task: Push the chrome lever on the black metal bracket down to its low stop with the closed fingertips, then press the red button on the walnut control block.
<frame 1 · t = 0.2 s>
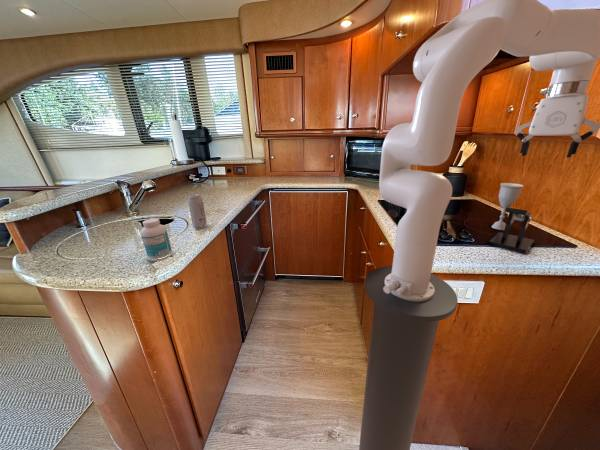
hand: (545, 156, 71), 30 cm above the countertop, tool pointing down, fingers open, 9 cm apart
lever: (517, 214, 77), point 12 cm above the countertop, hinge at 25.0°
bracket: (510, 244, 84), on the countertop
chalice: (499, 228, 98), on the countertop
energy drink can: (200, 227, 109), on the countertop
button: (426, 213, 104), point 4 cm above the countertop, slide at 0.1 cm
control block: (424, 223, 106), on the countertop
pill bottle: (160, 257, 82), on the countertop
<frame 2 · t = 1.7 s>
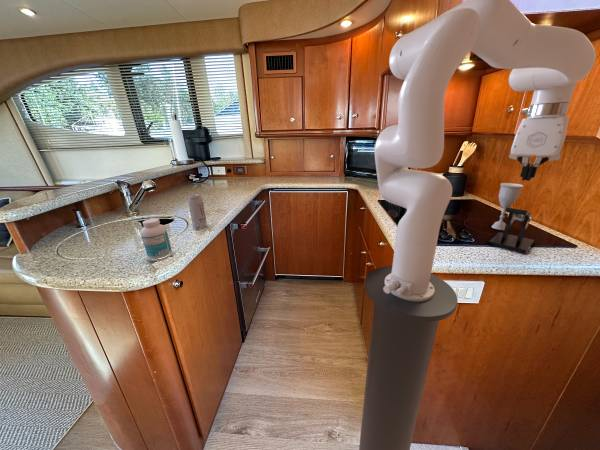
hand: (526, 179, 70), 24 cm above the countertop, tool pointing down, fingers closed
nothing on the countertop moved.
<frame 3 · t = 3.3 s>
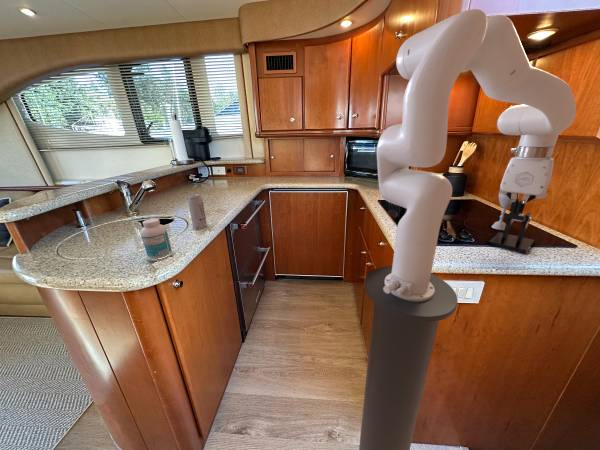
hand: (515, 214, 74), 13 cm above the countertop, tool pointing down, fingers closed
lever: (516, 217, 77), point 11 cm above the countertop, hinge at 14.3°, touching gripper
everything else where it was.
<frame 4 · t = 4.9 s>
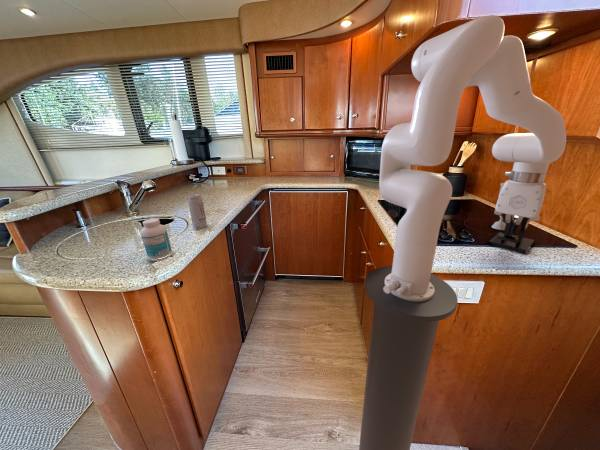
hand: (509, 234, 77), 6 cm above the countertop, tool pointing down, fingers closed
lever: (514, 226, 79), point 8 cm above the countertop, hinge at -30.8°, touching gripper
everything else where it was.
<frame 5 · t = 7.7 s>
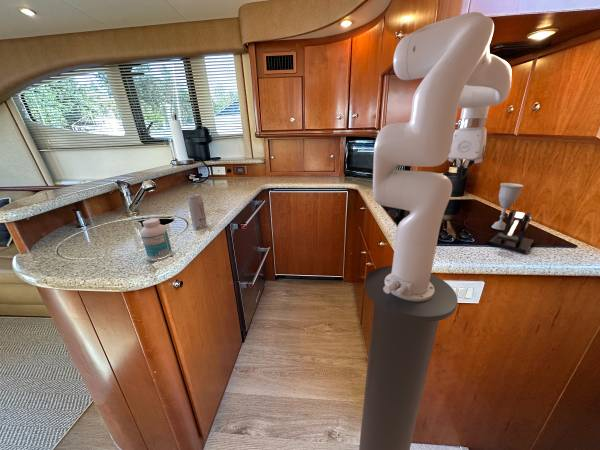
hand: (460, 178, 88), 22 cm above the countertop, tool pointing down, fingers closed
lever: (514, 226, 79), point 8 cm above the countertop, hinge at -30.8°
everything else where it was.
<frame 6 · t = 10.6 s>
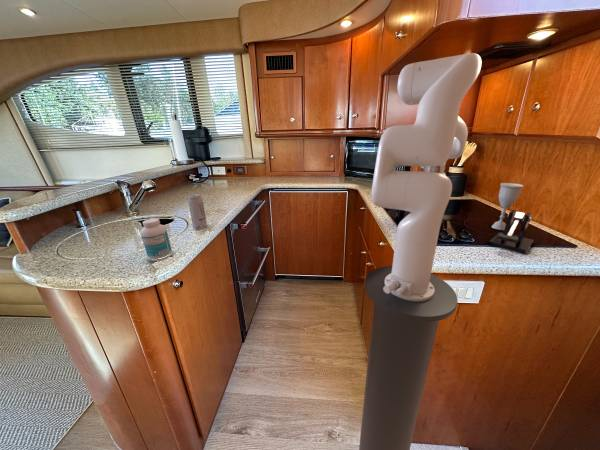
hand: (426, 211, 104), 5 cm above the countertop, tool pointing down, fingers closed
button: (426, 213, 104), point 4 cm above the countertop, slide at 0.0 cm, touching gripper
everything else where it was.
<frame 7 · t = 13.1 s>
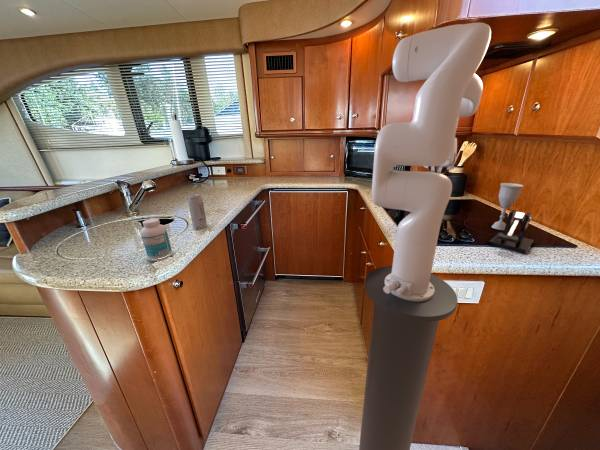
hand: (435, 183, 94), 19 cm above the countertop, tool pointing down, fingers closed
button: (426, 213, 104), point 4 cm above the countertop, slide at 0.1 cm
everything else where it was.
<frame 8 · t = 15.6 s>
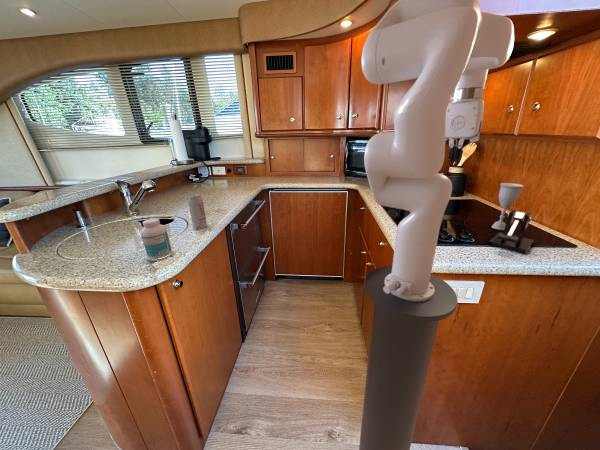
hand: (454, 161, 76), 29 cm above the countertop, tool pointing down, fingers closed
nothing on the countertop moved.
at the end: lever at -31° (first picture: +25°); button pushed in 1.1 cm at the most during the clip, back to where it started at the end; button slide at 0.1 cm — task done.
